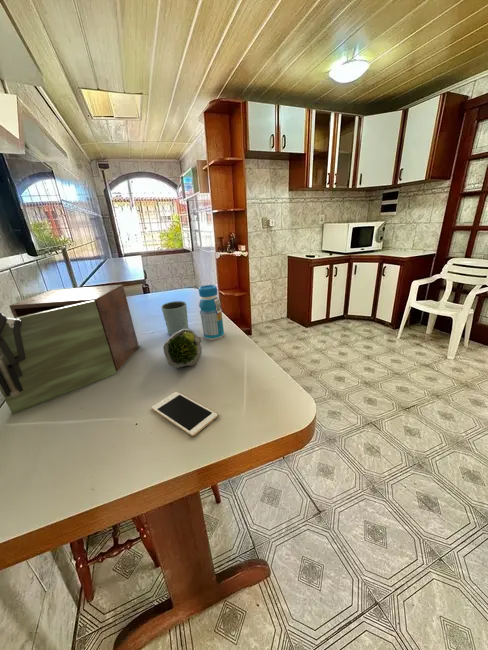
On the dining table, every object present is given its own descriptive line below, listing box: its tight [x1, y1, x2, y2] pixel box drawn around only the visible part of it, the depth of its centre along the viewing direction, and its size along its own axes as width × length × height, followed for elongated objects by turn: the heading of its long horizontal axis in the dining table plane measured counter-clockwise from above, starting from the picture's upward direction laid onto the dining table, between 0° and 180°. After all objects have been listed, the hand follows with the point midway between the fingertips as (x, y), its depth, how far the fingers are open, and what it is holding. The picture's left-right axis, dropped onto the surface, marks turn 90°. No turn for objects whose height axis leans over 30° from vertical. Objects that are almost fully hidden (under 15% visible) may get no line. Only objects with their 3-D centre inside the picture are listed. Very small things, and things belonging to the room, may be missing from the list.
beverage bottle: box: [198, 284, 225, 341], centre depth 103 cm, size 8×8×20 cm
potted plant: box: [162, 328, 203, 369], centre depth 85 cm, size 12×13×15 cm
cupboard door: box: [0, 300, 118, 415], centre depth 71 cm, size 7×26×24 cm, turn 130°
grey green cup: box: [161, 300, 189, 336], centre depth 111 cm, size 10×10×12 cm
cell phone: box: [151, 391, 218, 437], centre depth 65 cm, size 8×16×1 cm, turn 50°
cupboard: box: [9, 284, 139, 372], centre depth 91 cm, size 18×26×24 cm
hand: (14, 391), depth 64 cm, fingers closed on cupboard door, 2 cm apart
